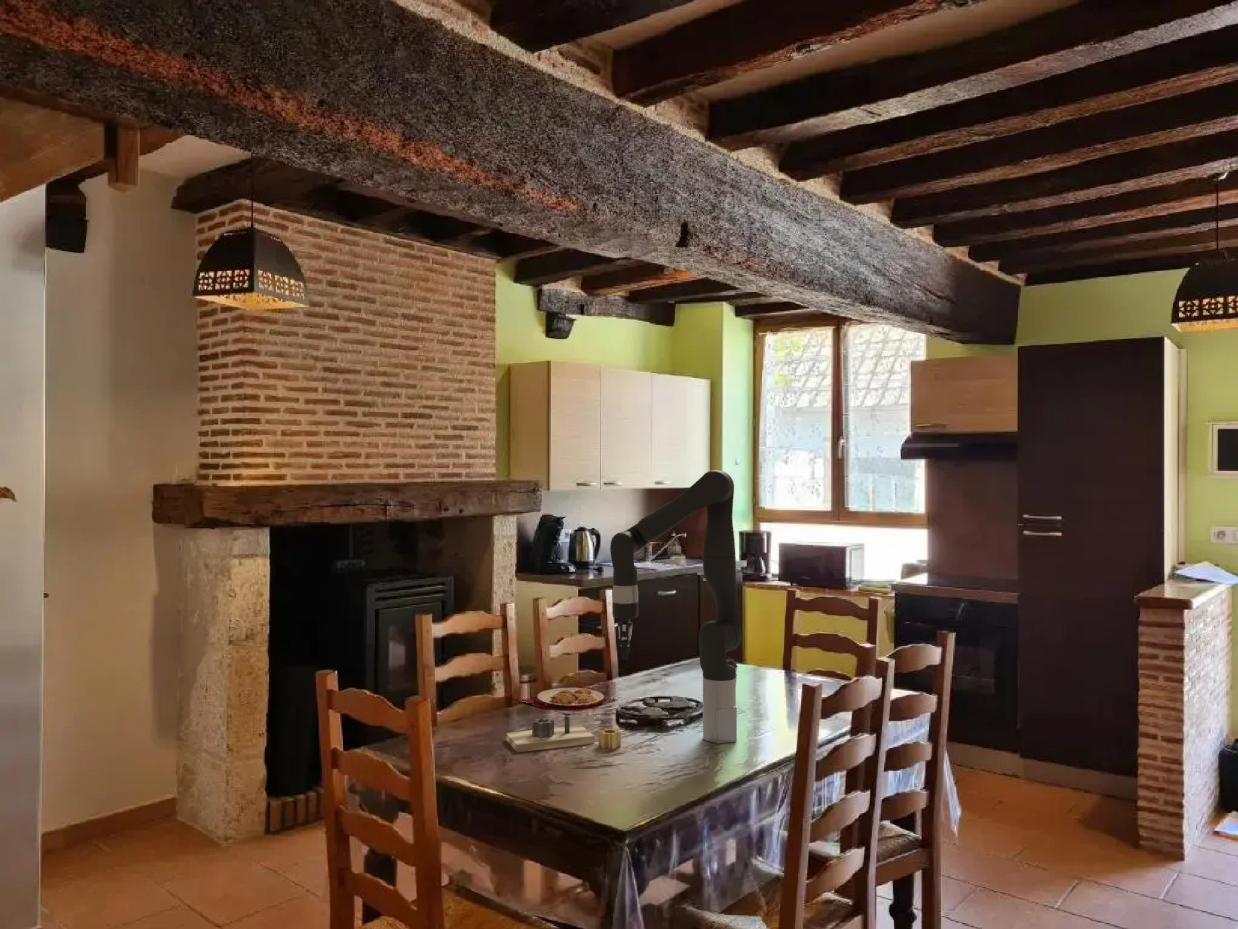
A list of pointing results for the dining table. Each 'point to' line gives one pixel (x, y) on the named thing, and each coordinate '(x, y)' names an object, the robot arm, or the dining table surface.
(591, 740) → the gear board
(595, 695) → the plate with food
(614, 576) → the robot arm
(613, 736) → the brass gear
